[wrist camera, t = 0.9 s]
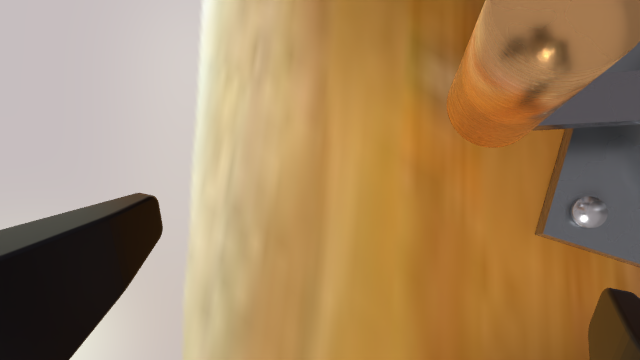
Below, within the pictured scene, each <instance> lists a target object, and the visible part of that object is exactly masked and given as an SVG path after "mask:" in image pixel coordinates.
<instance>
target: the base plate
mask: <svg viewBox="0 0 640 360" xmlns="http://www.w3.org/2000/svg"><path fill="white" fill-rule="evenodd" d="M627 71H640V42H639V43H638V44H637V45H636V46H635V47H634V48H633V49H632V50H631V51H630V52H628V53H627V54H626V55H625V56H623V57H622V58H621V59H620V60H619V61H617V62H616V63H615V64H614V65H612V66H611V67H610V68H609V69H607V70H606V71H605V72H604V73H612V72H627ZM535 235H538V236H542V237H545V238H548V239H551V240H554V241H558V242H561V243H564V244H567V245H570V246H574V247H577V248H580V249H583V250H586V251H589V252H593V253H596V254H599V255H602V256H605V257H609V258H612V259H615V260H618V261H621V262H625V263H628V264H631V265H634V266H637V267H640V125H625V126H606V127H588V128H569V129H565V133H564V136H563V140H562V143H561V146H560V150H559V153H558V157H557V160H556V164H555V167H554V171H553V174H552V177H551V181H550V184H549V188H548V191H547V195H546V198H545V201H544V205H543V208H542V212H541V215H540V219H539V222H538V226H537V229H536V232H535Z"/></svg>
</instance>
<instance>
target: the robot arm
mask: <svg viewBox="0 0 640 360" xmlns="http://www.w3.org/2000/svg"><path fill="white" fill-rule="evenodd" d="M162 229H163V226H162V220H161V214H160V208H159V203H158V200H157V198H156V197H155V196H152V195H147V194H142V193H136V194H132V195H128V196H125V197H121V198H117V199H114V200H110V201H106V202H102V203H99V204H95V205H91V206H88V207H84V208H80V209H77V210H73V211H69V212H65V213H62V214H58V215H54V216H51V217H47V218H43V219H40V220H36V221H32V222H29V223H25V224H21V225H18V226H14V227H10V228H6V229H3V230H0V360H69V359H70V358H71V357H72V356H73V355H74V353H75V352H76V351H77V350H78V348H79V347H80V346H81V345H82V343H83V342H84V341H85V340H86V338H87V337H88V336H89V335H90V333H91V332H92V331H93V330H94V328H95V327H96V326H97V325H98V324H99V322H100V321H101V320H102V319H103V317H104V316H105V315H106V314H107V312H108V311H109V310H110V309H111V307H112V306H113V305H114V304H115V303H116V301H117V300H118V299H119V298H120V296H121V295H122V294H123V292H124V291H125V290H126V288H127V287H128V286H129V284H130V283H131V281H132V280H133V278H134V277H135V275H136V274H137V272H138V270H139V269H140V268H141V266H142V265H143V263H144V261H145V260H146V258H147V257H148V255H149V254H150V252H151V251H152V249H153V248H154V246H155V244H156V243H157V242H158V240H159V239H160V237H161V234H162ZM588 340H589V356H590V360H640V298H638V297H637V296H636V295H635V294H633V293H631V292H627V291H622V290H617V289H612V288H607V289H605V290H604V291H603V292H602V293H601V296H600V298H599V301H598V304H597V306H596V309H595V311H594V314H593V316H592V319H591V322H590V325H589V332H588Z"/></svg>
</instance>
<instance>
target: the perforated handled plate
mask: <svg viewBox="0 0 640 360" xmlns="http://www.w3.org/2000/svg"><path fill="white" fill-rule="evenodd" d="M639 42H640V0H485V2H484V5H483V7H482V10H481V13H480V15H479V18H478V20H477V23H476V25H475V28H474V30H473V33H472V35H471V38H470V40H469V43H468V45H467V48H466V50H465V53H464V55H463V58H462V60H461V63H460V65H459V68H458V70H457V73H456V75H455V78H454V80H453V83H452V85H451V88H450V90H449V94H448V98H447V111H448V116H449V119H450V121H451V123H452V125H453V127H454V128H455V129H456V131H457V132H458V133H459V134H460V135H461V136H462V137H464V138H465V139H466V140H468V141H470V142H472V143H474V144H476V145H479V146H483V147H502V146H507V145H510V144H512V143H514V142H516V141H518V140H520V139H521V138H522V137H524V136H525V135H526V134H527V133H529V132H530V131H532V130H551V129H569V128H588V127H606V126H625V125H640V71H627V72H612V73H604V72H605V71H606V70H607V69H609V68H610V67H611V66H612V65H614V64H615V63H616V62H617V61H619V60H620V59H621V58H622V57H623V56H625V55H626V54H627V53H628V52H630V51H631V50H632V49H633V48H634V47H635V46H636V45H637V44H638V43H639Z"/></svg>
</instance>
